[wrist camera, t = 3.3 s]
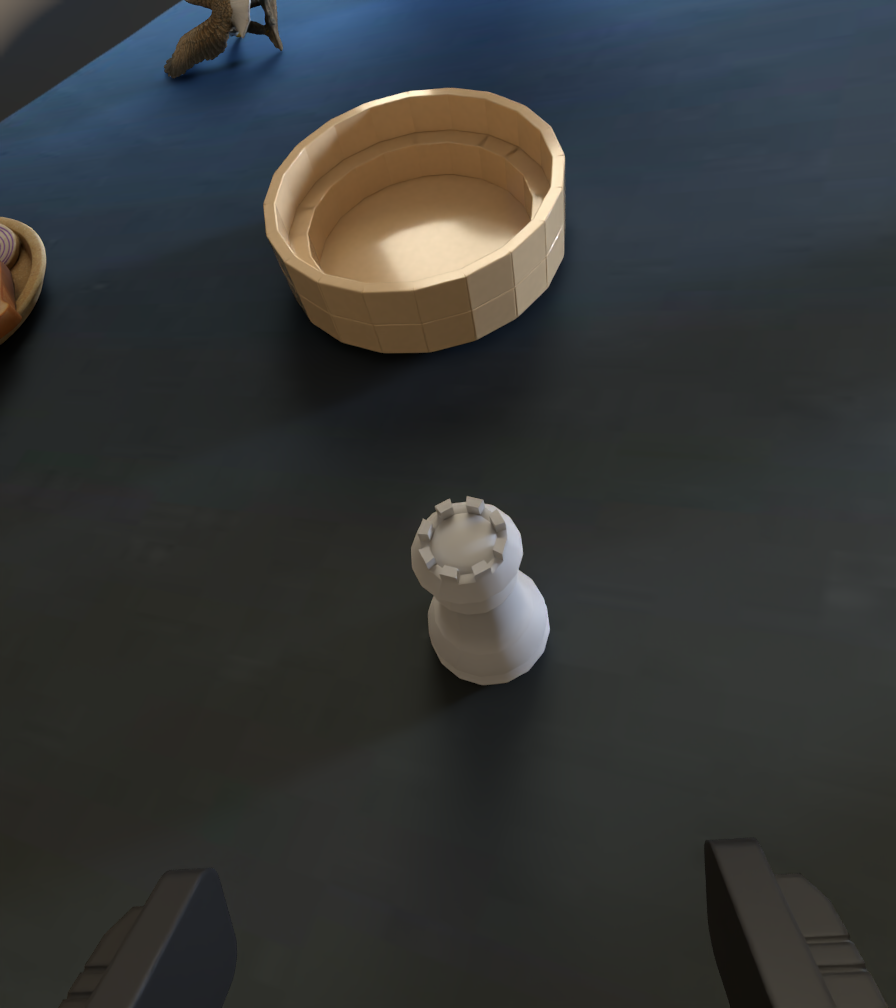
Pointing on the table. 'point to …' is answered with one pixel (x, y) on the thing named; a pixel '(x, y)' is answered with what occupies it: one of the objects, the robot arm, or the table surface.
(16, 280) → the toy sandwich meal
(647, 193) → the table surface
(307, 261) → the bowl
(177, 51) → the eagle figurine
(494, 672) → the rook chess piece
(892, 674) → the table surface
